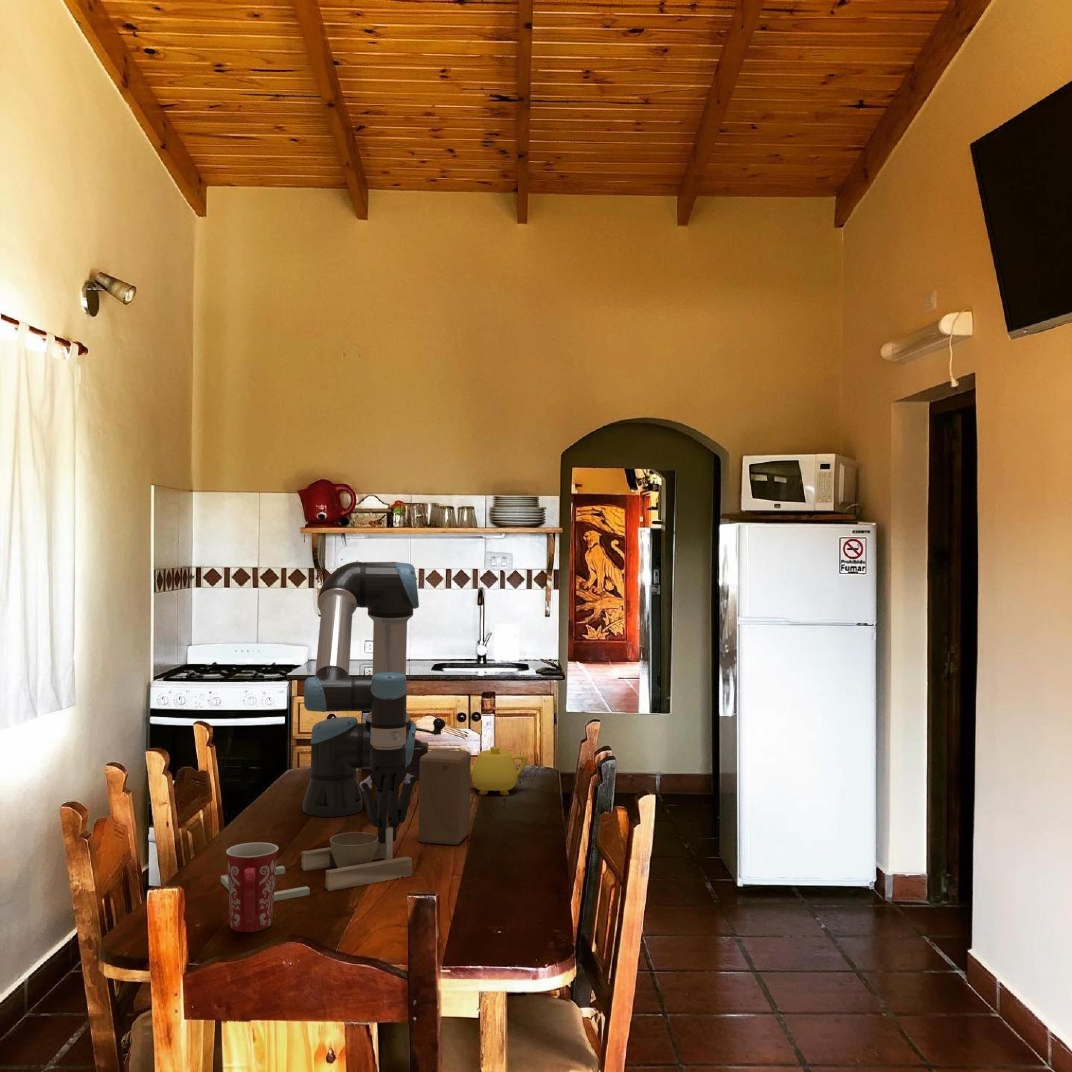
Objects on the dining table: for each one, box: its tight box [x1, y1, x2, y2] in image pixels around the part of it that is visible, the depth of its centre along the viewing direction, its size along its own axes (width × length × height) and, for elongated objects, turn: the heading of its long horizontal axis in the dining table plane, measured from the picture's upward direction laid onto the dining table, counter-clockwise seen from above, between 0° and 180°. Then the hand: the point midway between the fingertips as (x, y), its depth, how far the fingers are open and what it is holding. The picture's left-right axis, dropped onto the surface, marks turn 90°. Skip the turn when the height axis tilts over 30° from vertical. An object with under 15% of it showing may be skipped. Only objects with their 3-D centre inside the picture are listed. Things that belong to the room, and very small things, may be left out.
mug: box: [225, 841, 279, 933], centre depth 173 cm, size 13×9×14 cm
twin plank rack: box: [300, 842, 413, 892], centre depth 204 cm, size 16×18×4 cm
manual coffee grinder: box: [406, 717, 446, 781], centre depth 292 cm, size 16×11×18 cm
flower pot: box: [329, 831, 378, 868], centre depth 204 cm, size 10×10×7 cm
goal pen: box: [220, 865, 311, 902], centre depth 194 cm, size 16×13×1 cm
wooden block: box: [417, 748, 472, 846], centre depth 229 cm, size 10×10×20 cm
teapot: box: [456, 746, 529, 796], centre depth 276 cm, size 13×20×12 cm
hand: (386, 857), depth 208 cm, fingers closed
